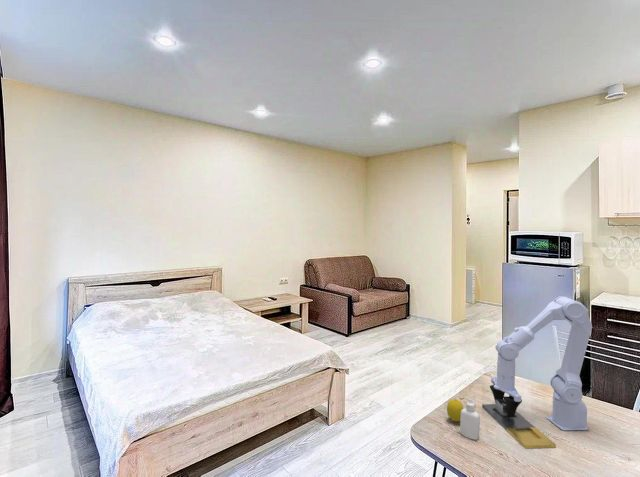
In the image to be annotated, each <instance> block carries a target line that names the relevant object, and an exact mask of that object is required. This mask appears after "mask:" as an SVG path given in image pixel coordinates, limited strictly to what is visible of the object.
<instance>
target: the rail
mask: <svg viewBox="0 0 640 477" xmlns="http://www.w3.org/2000/svg"><path fill="white" fill-rule="evenodd" d="M481 407H482V409H483V410H485V411H486V412H487V413H488V414H489V416H490V417H492V418H493V419H494V420H495V421H496V422H497V423H498V424H499V425H500V426H501V427H502V428H503V429H504V430H505V431H506V432H507V433H509V434H510V436H512V437H513V439H515V440H516V441H517V442H518V443H519V444H520V445H521V446H522V447H523V448H524V449H549V448H550V449H551V448H552V449H553V448H556V446H557V444H556V443H555V442H554V441H553V440H551V439H550V438H549V437H548V436H547V435H545V434H544V433H543V432H542V431H540V430H539V429H538V428H537V427H536V426H535V425H534V424H532V423H531V422H530V421H528V420H527V419H526V418H525V417H523V415H521V413H519V412H518V411H516V412H515V416H514V417H509V418H501V417H500V416H499V415H498V414H497V413H496V412H495V403H492V404H491V403H489V404H488V403H486V404H485V403H484V404H481Z"/></svg>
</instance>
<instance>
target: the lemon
mask: <svg viewBox="0 0 640 477" xmlns="http://www.w3.org/2000/svg"><path fill="white" fill-rule="evenodd" d="M462 409H465V408H464V406H463V404H462V402H461V401H459V400H458V399H457V398H454V399H450V400H449V401H448V403H447V406H446V413H447V416H448V418H449V419H450V420H452V421H453V422H454V423H456V422H460V420H461V410H462Z"/></svg>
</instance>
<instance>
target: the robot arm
mask: <svg viewBox="0 0 640 477" xmlns="http://www.w3.org/2000/svg"><path fill="white" fill-rule="evenodd" d="M553 321H567V322H568V323H569V325H570V326H571V328H570V331H569V335H568V338H567V342H566V346H565V350H564V354H563V358H562V361H561V366H560V367H559V368H558V369H557V370H555V373H554V375H553V376H552V377H551V379H550V382H549V383H550V386H551V388H552V390H553V392H552V411H551V412H552V413H551V414H552V415H547V416H546V415H545V418H546V419H547V420H548V421H550V423H552V424H553V425H554V426H556V427H557V428H559V429H560V430H562V431H565V432H566V431H589V427H587V423H588V422H587V421H588V408H587V405H586V403H585V402H584V401H583V395H584V394H583V392H582V389H583V388H582V387H583V384H582V379H581V377H580V375H581V370H582V367H583V362H584V359H585V356H586V351H587V347H588V343H589V340H590V337H591V333H592V330H593V325H592V320H591V319H590V316H589V309H588V308H587V306H585V305H584V304H583V303H581V302H580V301H578V300H574V299H572V298H570V297H568V296H564V295H562V296H561V295H560V296H557V297H556V298H554V300H553V301H550V302H549V303H548V304H547V306H546V307H545V308H544V309H543V310H542V311H541V312H540V313H538V314H537V315H536V317H534V318H533V319H532V320H531V321H530V322H529V323H528V324H527V325H524V326H522V325H520V326H518V327H517V326H516V327H515V328H514V329H513V330H514V331H512V332H511V333H510V334H509V335H508V336H505V337H504V338H503V339H501V340H498V342H497V343H496V345H494V346H495V350H496V352H497V359H496V360H497V361H496V377H495V376H493V377H490V383H491V384H492V385H489V389H490V391H491V393H492V395H493V399H494V401H495V399H504V400H505V403H506V411H507V416H508V417H514V415H515V412H517V409H518V408H519V406H520V404H522V402H523V399H522V395H521V394H520V393H519V392H518V390H517V389H516V387H515V385H516V382H515V381H516V359H517V358H518V357H519V353H520V351H522V350H523V349H524V348H525V347H526V346H527V345H529V344H530V343H531V342H533V341H534V340H535V334H536V333H538V332H539V331H541V330H542V329H543V328H544V327H546V326H548V325H549V324H550V323H552V322H553ZM505 394H507V395H508V396H505Z"/></svg>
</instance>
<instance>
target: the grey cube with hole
mask: <svg viewBox="0 0 640 477" xmlns="http://www.w3.org/2000/svg"><path fill="white" fill-rule="evenodd" d="M494 404H495V412H496V413H497V414H498V415H499V416H500V417H501V418H509V417H508V416H507V411H506V403H505V400H504V398H503V399H495V400H494ZM514 416H515V415H514Z"/></svg>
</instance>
